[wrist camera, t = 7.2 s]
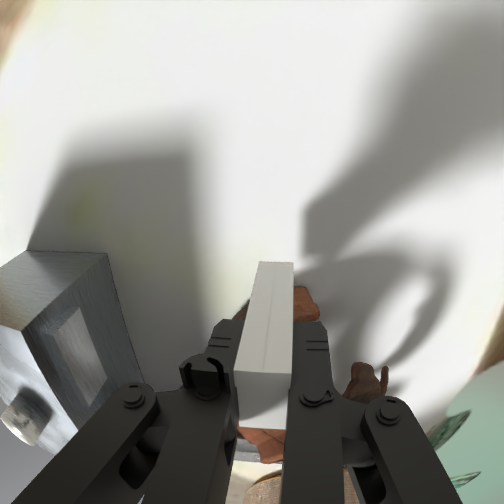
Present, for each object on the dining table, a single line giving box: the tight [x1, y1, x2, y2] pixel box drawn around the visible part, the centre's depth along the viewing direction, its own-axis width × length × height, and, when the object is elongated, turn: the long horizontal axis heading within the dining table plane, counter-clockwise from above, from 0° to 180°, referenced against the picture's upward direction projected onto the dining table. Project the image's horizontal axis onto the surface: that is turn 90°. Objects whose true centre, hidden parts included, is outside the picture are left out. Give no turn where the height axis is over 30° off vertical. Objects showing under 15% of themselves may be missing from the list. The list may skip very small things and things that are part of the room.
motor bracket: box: [0, 251, 283, 464], centre depth 15 cm, size 14×24×10 cm, turn 92°
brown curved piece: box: [180, 287, 389, 464], centre depth 16 cm, size 12×10×8 cm
